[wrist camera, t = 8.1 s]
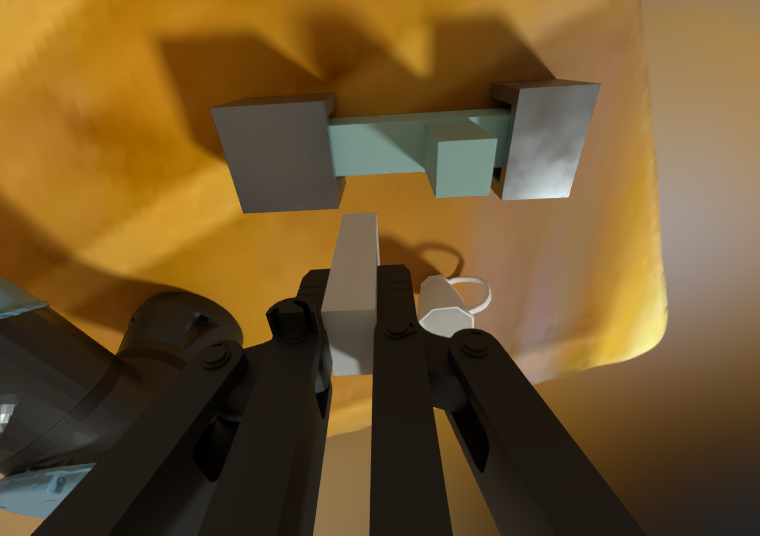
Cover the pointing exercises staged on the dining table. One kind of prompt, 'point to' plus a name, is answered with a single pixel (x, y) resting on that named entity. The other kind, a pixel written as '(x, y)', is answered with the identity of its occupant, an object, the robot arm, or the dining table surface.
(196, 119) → the dining table surface
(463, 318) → the cup
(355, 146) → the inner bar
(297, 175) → the gray block
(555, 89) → the socket
